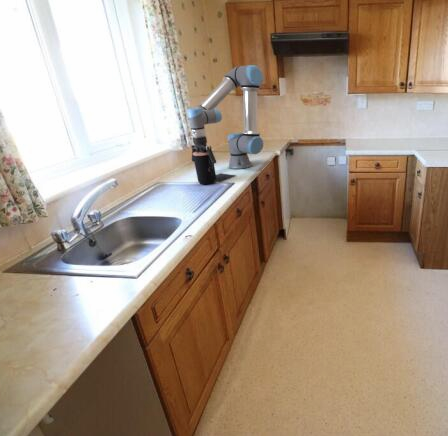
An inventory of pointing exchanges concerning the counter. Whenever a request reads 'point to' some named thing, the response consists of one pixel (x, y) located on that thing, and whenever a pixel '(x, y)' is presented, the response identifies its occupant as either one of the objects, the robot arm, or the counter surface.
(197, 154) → the coffee jar
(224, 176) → the mat
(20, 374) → the counter surface
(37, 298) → the counter surface
